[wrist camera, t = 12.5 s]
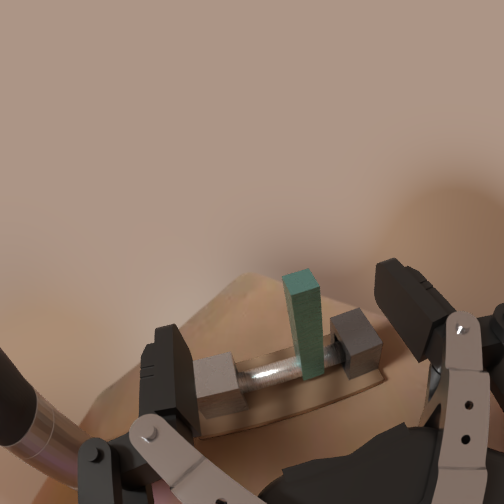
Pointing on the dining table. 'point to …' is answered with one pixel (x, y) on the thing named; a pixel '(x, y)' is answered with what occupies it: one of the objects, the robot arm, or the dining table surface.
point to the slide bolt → (298, 338)
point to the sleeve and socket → (224, 370)
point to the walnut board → (288, 395)
